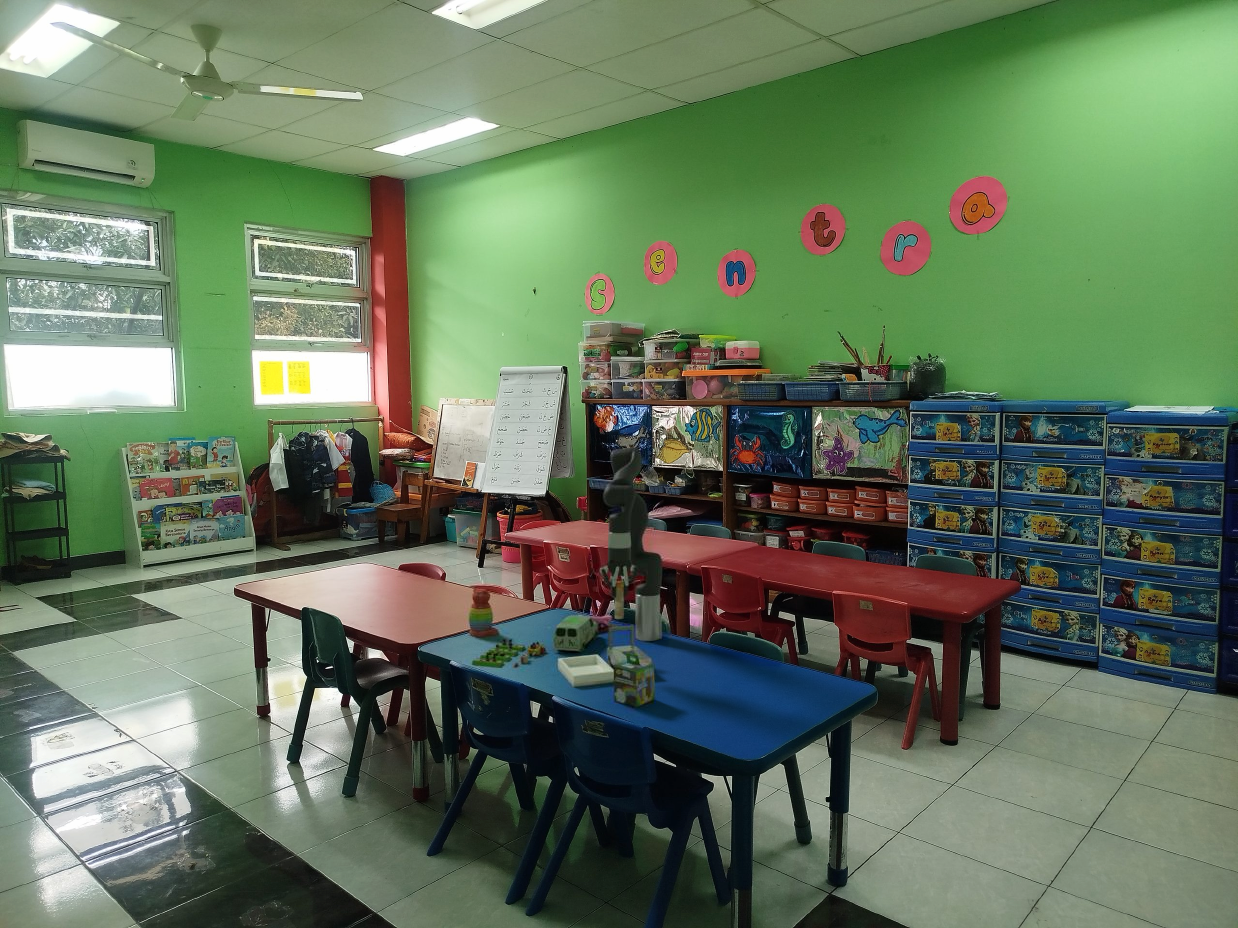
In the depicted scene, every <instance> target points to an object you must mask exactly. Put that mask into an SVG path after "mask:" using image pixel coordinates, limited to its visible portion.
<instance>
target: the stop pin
mask: <svg viewBox="0 0 1238 928" xmlns="http://www.w3.org/2000/svg"><path fill="white" fill-rule="evenodd" d="M615 587H616V598H614V619H616V620H620V619H621V620H622V619H624V618H625V617H624V615H625V614H624V610H625V609H624V608H625V604H624V603H625V601H624V600H625V597H624V582H622V580H620V581H619V580H618V581H617V580H616V585H615Z"/></svg>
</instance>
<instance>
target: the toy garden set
mask: <svg viewBox="0 0 1238 928" xmlns="http://www.w3.org/2000/svg"><path fill="white" fill-rule="evenodd" d="M512 642H513V639H512V638H510V639H508V643H507V639H506V638H502V642H498V644H495V647H491V648H490V649H488V651H486V652H484V653H483V654H480V657H475V658H474V659H473V660H472V662H471V665H473V666H479V667H480V666H482V667H488V668H489V667H491V668H500V667H501V666H503V665H504V663H506V662H508V661H510V660H511V659H512V657H516V655H518V654H519V652H522V651H523V650H525V649H526V653H525V654H520V657H519V658H518V659H517V661H516V662H515V663H514V664H513V665H514V666H513V668H516V666H518V665H519V661H520V663H521V664H527V663H528V662H529V657H530V655H532V656H534V655H535V656H540V655H542V654H546V652H547V649H546V647H543V645H544V644H543V642H542V643H540V642H538V641H536V642H532V643H531V644H530V645H529V646H527V648H526V645H525V644H517V643H516V644H515V643H512Z"/></svg>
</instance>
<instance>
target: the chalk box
mask: <svg viewBox="0 0 1238 928" xmlns="http://www.w3.org/2000/svg"><path fill="white" fill-rule="evenodd" d="M631 656H632V657H634V658H635V659H634V658H630V657H631ZM626 658H627V660H624V661H621V662H620V663H617V664H615V665H614V667H613V670H614V682H613V702H617V703H621V704H624V705H628V706H629V707H634V708H639V707H641V706H643V705H644V704H646V703H650V702H651V701H653V700H655V699H656V697H655V663H654V662H653V661H651V662H649V661H644V660H639V658H638V655H636V654H632V653H628V652H626Z"/></svg>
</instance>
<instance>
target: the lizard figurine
mask: <svg viewBox="0 0 1238 928" xmlns="http://www.w3.org/2000/svg"><path fill="white" fill-rule="evenodd" d="M578 616H584V615H582V614H578ZM588 617H591V619H592V620H593V622H596V623H597V630H598V633H596V636H599V635H604V634H609V628H611V627H621V625H618V624H616V623H611V621H612V620H613V616H612V615H610V614H609V615H603V616H590V615H588Z"/></svg>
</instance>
